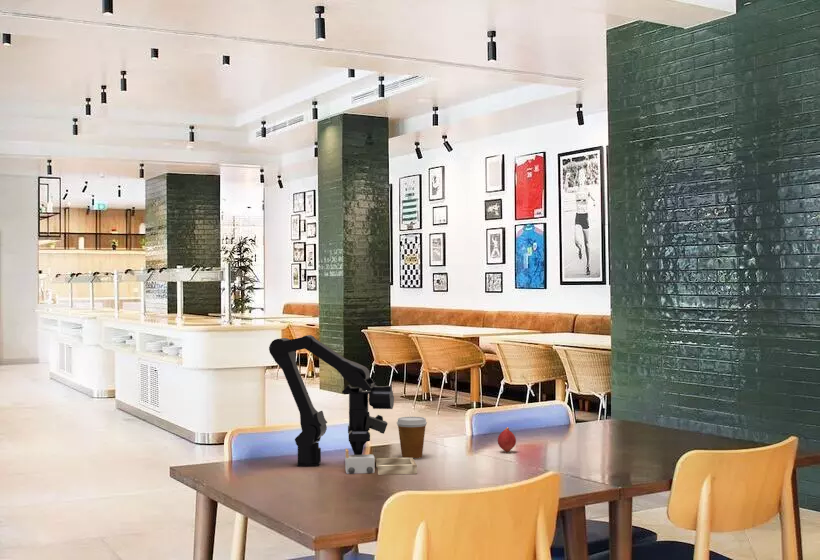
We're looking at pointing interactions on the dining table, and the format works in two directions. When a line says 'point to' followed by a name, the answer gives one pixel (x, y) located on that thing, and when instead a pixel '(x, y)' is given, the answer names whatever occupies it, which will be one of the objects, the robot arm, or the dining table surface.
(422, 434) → the disposable coffee cup
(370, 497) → the dining table surface
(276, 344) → the robot arm
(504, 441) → the onion
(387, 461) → the bay
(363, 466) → the trolley
